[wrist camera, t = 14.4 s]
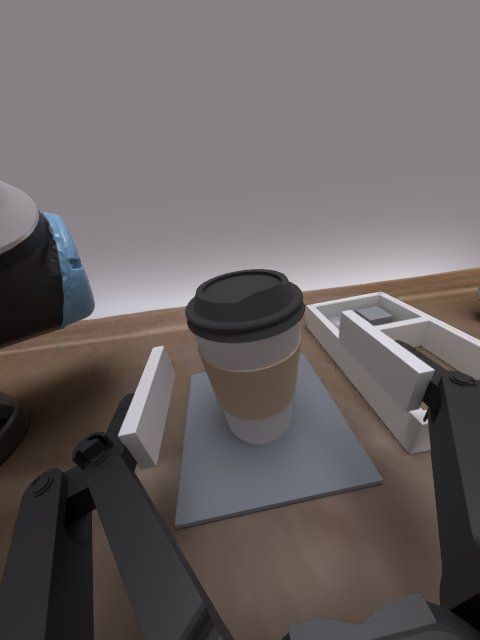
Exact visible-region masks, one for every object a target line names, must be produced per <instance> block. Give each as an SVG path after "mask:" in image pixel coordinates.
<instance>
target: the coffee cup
mask: <svg viewBox="0 0 480 640" xmlns="http://www.w3.org/2000/svg"><path fill="white" fill-rule="evenodd" d="M302 300H303V294H302V291H301V290H300V289H299V288H298V286H296V285H295V284H293V283H291V282H289V281H288V279H287V277H286V276H285V275H284V274H283V273H280V272H277V271H273V270H265V269H253V270H243V271H237V272H231V273H227V274H223V275H220V276H217V277H215V278H212V279H210V280H208V281H206V282H204V283H203V284H202V285H200V286H199V287H198V289H197V290H196V295H195V297H194V298H193V299H192V300H191V301H190V302H189V303H188V305H187V307H186V310H185V313H186V317H187V324H188V327H189V329H190V330H191V331H192V332H193V333H194V335H195V338H196V340H197V343H198V352H199V355H200V357H201V360H202V362H203V365H204V367H205V370H206V373H207V375H208V378H209V380H210V383H211V385H212V388H213V391H214V393H215V396H216V398H217V401H218V403H219V405H220V406H221V407H222V409H223V411H224V414H225V417H226V419H227V422H228V425H229V427H230V429H231V431H232V432H233V434H234V435H235V436H236V437H238V438H239V439H241V440H242V441H245V442H247V443H251V444H265V443H269V442H272V441H274V440H276V439H278V438H279V437H281V436H282V435H283V434H284V433H285V432H286V430H287V429H288V427H289V425H290V422H291V418H292V408H293V397H294V394H295V390H296V381H297V372H298V363H299V354H300V345H301V332H300V325H301V319H302V317H303V315H304V313H305V305H304V302H303V301H302Z"/></svg>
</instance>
